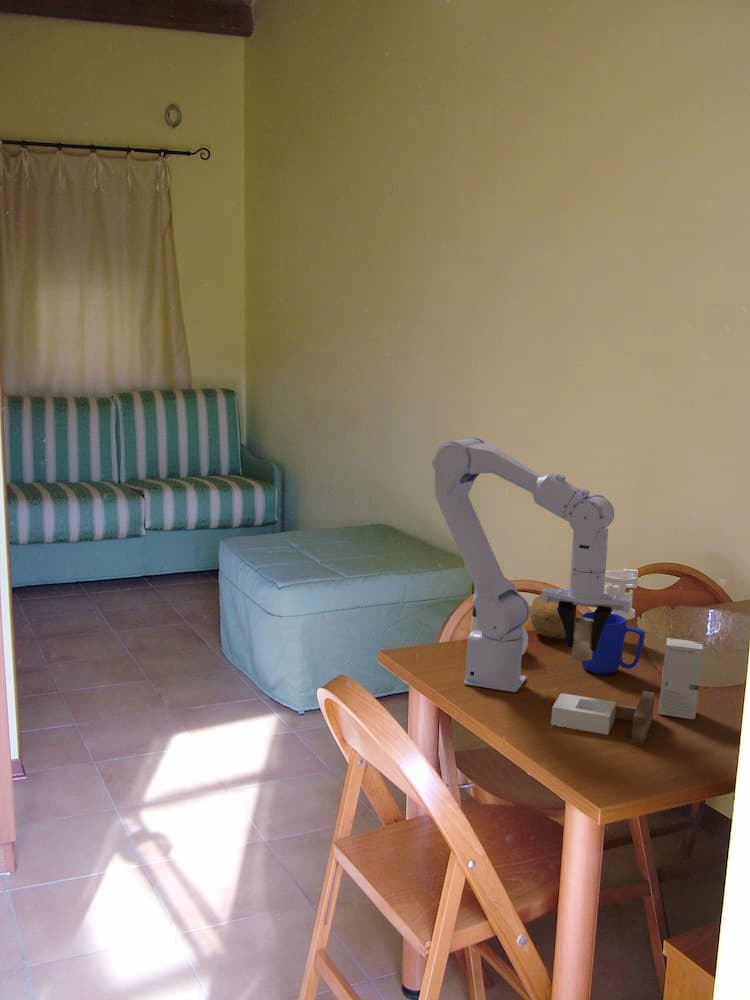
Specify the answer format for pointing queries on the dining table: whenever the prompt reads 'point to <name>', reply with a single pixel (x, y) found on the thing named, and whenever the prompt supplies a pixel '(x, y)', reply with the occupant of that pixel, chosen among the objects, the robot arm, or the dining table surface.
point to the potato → (547, 618)
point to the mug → (612, 646)
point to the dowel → (582, 639)
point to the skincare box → (681, 678)
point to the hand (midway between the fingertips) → (582, 647)
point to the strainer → (622, 588)
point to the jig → (638, 716)
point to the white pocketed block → (583, 713)
